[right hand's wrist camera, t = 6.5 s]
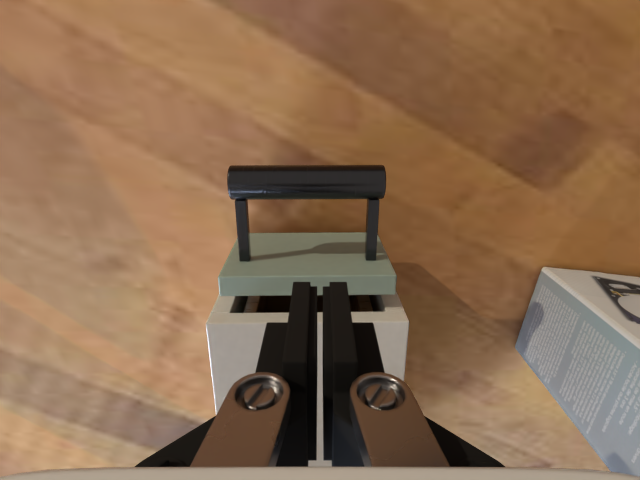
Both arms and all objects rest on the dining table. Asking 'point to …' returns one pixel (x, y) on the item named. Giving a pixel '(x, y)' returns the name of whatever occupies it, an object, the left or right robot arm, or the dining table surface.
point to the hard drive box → (590, 356)
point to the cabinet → (248, 331)
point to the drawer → (306, 238)
